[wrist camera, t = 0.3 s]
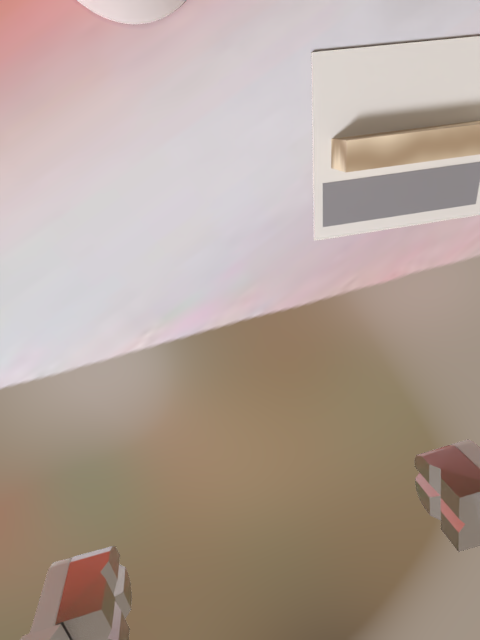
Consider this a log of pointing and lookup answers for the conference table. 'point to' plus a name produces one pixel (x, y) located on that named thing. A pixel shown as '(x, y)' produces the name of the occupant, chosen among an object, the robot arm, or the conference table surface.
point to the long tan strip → (405, 146)
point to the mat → (392, 115)
